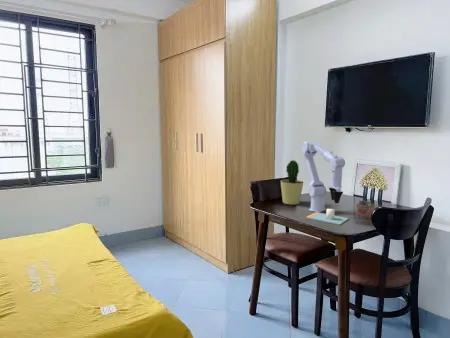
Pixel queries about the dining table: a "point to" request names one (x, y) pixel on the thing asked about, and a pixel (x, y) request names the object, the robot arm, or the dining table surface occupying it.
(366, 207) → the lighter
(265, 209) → the dining table surface
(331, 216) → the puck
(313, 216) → the mat
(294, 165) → the potted cactus
